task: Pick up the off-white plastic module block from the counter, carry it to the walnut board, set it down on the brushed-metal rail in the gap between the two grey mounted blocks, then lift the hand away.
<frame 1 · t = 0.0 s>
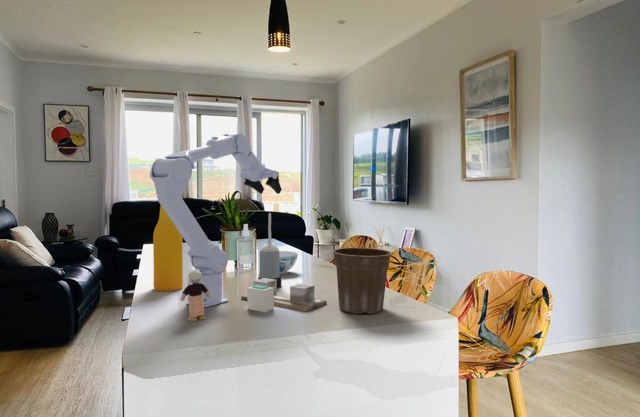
hand: (270, 191, 154), 32 cm above the table, tool tilted 50°, fingers open, 7 cm apart
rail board: (283, 301, 134), on the table
grandmother figurine: (195, 320, 115), on the table
beer bottle: (168, 289, 150), on the table
plant pot: (361, 309, 126), on the table
chinaware: (278, 273, 179), on the table
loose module: (260, 309, 125), on the table
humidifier: (269, 286, 155), on the table
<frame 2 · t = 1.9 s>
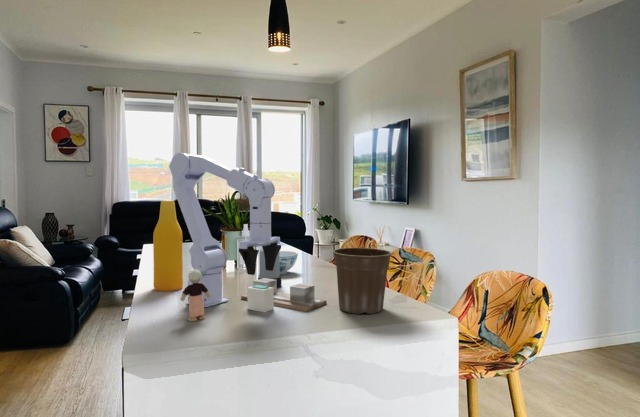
hand: (260, 272, 125), 10 cm above the table, tool pointing down, fingers open, 7 cm apart
nothing on the table moved.
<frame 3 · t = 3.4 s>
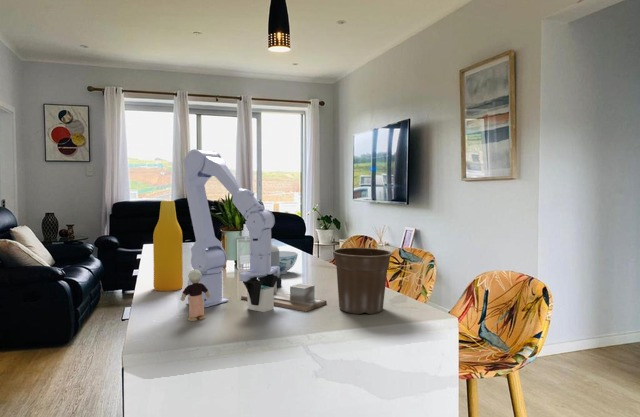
hand: (260, 303, 125), 2 cm above the table, tool pointing down, fingers closed on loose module, 4 cm apart
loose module: (260, 308, 125), on the table, touching gripper
everything else where it was.
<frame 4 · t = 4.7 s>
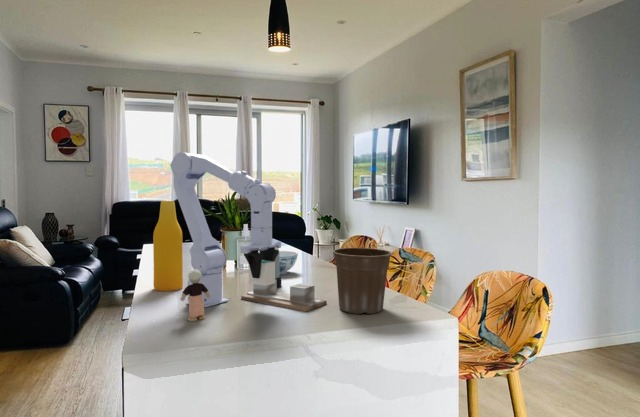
hand: (261, 276, 125), 9 cm above the table, tool pointing down, fingers closed on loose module, 4 cm apart
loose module: (262, 283, 125), point 7 cm above the table, touching gripper
everything else where it was.
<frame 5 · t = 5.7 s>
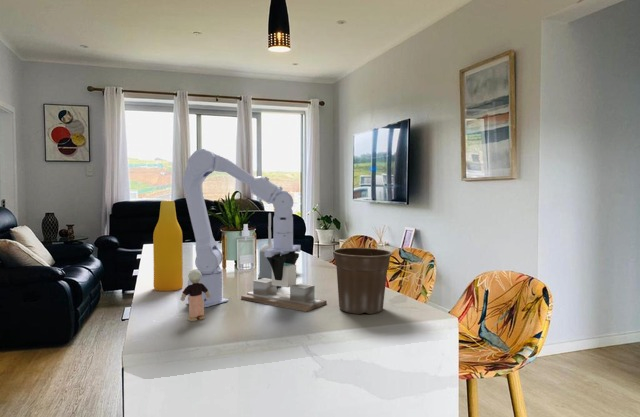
hand: (283, 278, 133), 7 cm above the table, tool pointing down, fingers closed on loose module, 4 cm apart
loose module: (283, 285, 133), point 5 cm above the table, touching gripper
everything else where it was.
when the fingers open (5 cm above the table, at t = 6.5 s): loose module drops 1 cm, resting on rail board.
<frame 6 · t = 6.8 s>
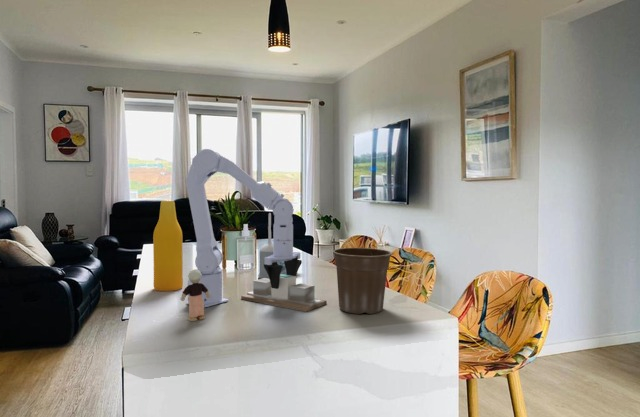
hand: (283, 286, 133), 5 cm above the table, tool pointing down, fingers open, 7 cm apart
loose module: (283, 296, 133), point 1 cm above the table, touching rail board
everything else where it was.
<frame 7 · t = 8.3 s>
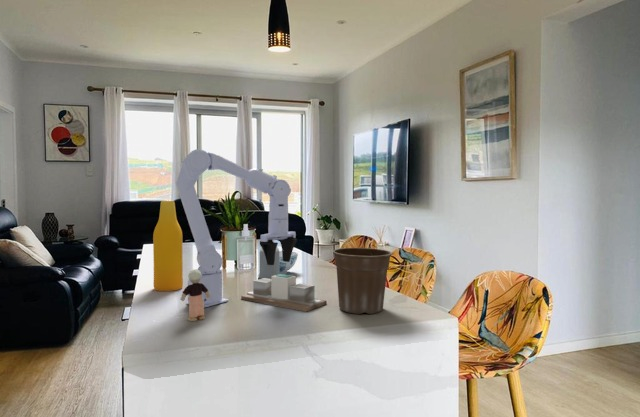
hand: (278, 263, 139), 10 cm above the table, tool pointing down, fingers open, 7 cm apart
nothing on the table moved.
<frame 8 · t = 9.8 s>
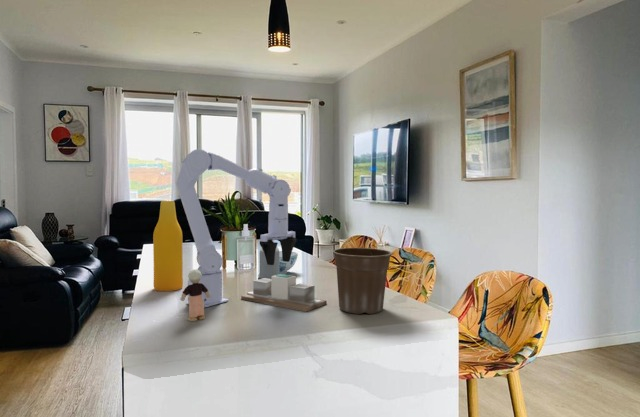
hand: (278, 263, 139), 10 cm above the table, tool pointing down, fingers open, 7 cm apart
nothing on the table moved.
at the end: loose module 0.2 cm off-centre on the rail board, point 1.5 cm above the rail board's base; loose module tilted 0°; the gripper is holding nothing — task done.
